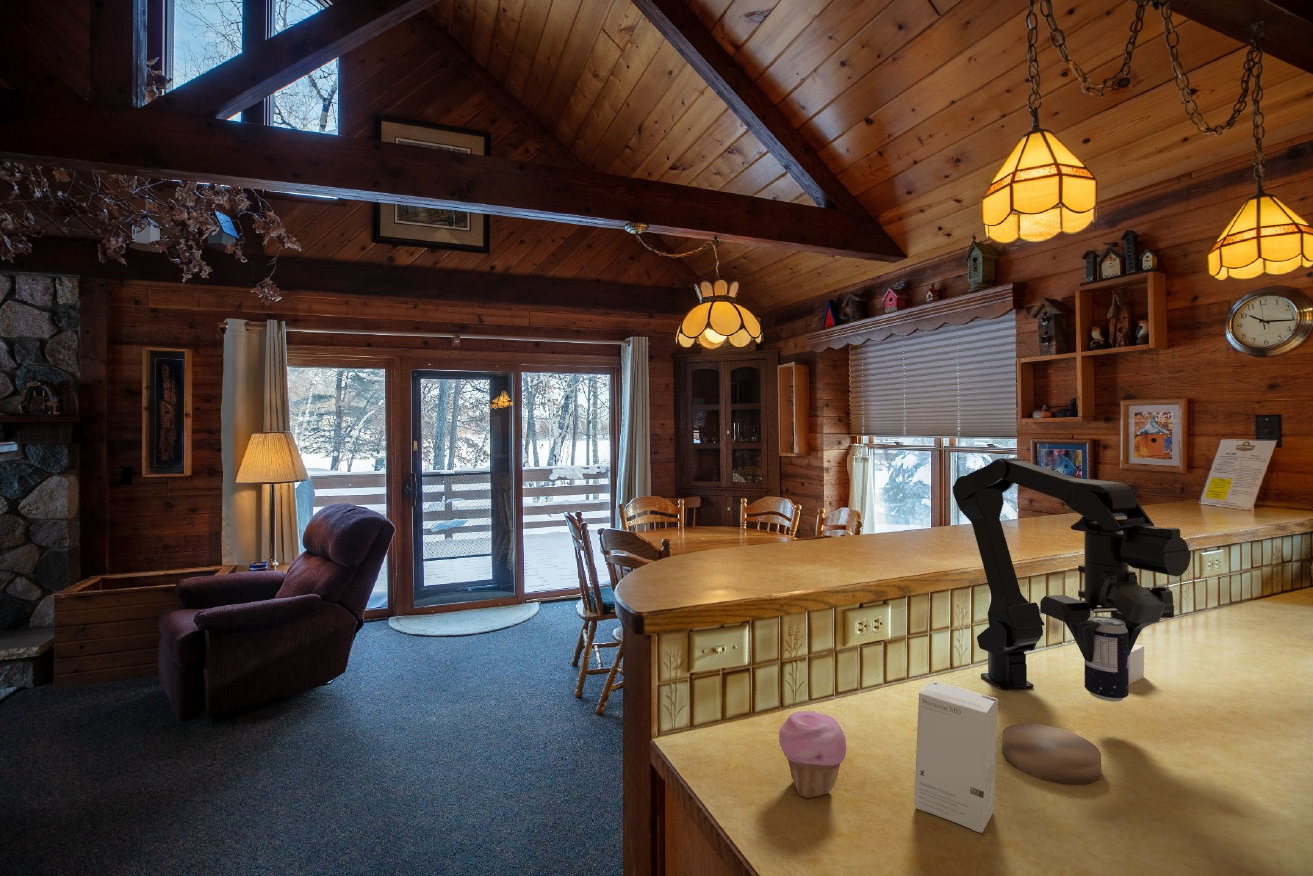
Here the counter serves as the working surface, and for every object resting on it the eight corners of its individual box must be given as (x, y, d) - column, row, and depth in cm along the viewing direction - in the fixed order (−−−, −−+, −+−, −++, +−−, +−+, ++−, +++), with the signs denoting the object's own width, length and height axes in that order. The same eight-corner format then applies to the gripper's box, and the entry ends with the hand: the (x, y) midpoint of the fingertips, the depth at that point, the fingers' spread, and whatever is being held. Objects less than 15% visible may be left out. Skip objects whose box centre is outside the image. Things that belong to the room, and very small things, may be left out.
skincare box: (913, 809, 79) (913, 692, 79) (928, 788, 84) (928, 677, 84) (987, 836, 74) (986, 711, 74) (998, 812, 79) (998, 694, 78)
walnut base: (984, 742, 95) (984, 726, 95) (1057, 737, 97) (1057, 721, 97) (1041, 788, 84) (1041, 769, 83) (1123, 781, 85) (1123, 762, 85)
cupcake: (772, 772, 88) (771, 701, 88) (832, 769, 89) (832, 699, 89) (790, 811, 79) (789, 732, 79) (857, 807, 80) (857, 729, 80)
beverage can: (1136, 705, 96) (1136, 627, 96) (1094, 702, 98) (1094, 625, 97) (1117, 689, 102) (1117, 616, 102) (1078, 687, 103) (1078, 614, 103)
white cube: (1144, 677, 119) (1144, 646, 119) (1130, 685, 116) (1130, 652, 116) (1107, 667, 124) (1107, 637, 124) (1093, 674, 121) (1093, 643, 121)
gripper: (1093, 576, 90) (1093, 684, 91) (1209, 571, 92) (1208, 677, 93) (1037, 560, 101) (1037, 656, 102) (1142, 556, 104) (1142, 650, 104)
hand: (1106, 660), depth 100 cm, fingers closed on beverage can, 6 cm apart
